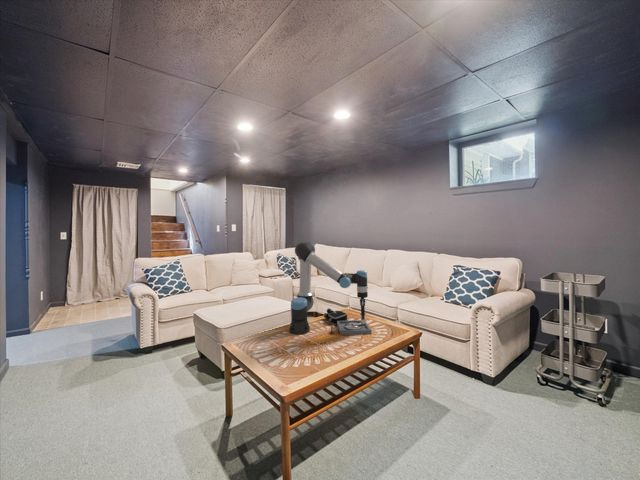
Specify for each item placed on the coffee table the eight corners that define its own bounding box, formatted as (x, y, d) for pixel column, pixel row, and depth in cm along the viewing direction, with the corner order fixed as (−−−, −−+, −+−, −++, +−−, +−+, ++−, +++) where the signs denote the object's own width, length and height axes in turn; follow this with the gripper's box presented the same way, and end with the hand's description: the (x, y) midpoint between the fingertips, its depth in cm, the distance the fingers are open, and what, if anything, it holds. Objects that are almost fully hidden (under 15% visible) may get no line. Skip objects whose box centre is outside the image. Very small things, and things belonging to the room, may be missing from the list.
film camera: (320, 320, 238) (333, 316, 248) (334, 327, 226) (347, 322, 235) (320, 310, 237) (334, 306, 246) (334, 317, 224) (348, 312, 234)
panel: (340, 334, 205) (340, 331, 205) (336, 324, 227) (336, 320, 227) (371, 333, 207) (371, 330, 206) (364, 323, 228) (364, 320, 228)
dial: (352, 331, 208) (352, 322, 207) (341, 326, 219) (340, 317, 218) (366, 327, 215) (366, 318, 215) (355, 322, 226) (355, 314, 226)
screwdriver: (332, 334, 206) (332, 331, 206) (330, 326, 222) (330, 323, 222) (336, 334, 206) (336, 330, 206) (334, 326, 222) (334, 323, 222)
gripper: (367, 293, 208) (368, 326, 208) (367, 289, 220) (367, 320, 221) (357, 293, 209) (358, 326, 209) (357, 289, 221) (357, 320, 222)
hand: (363, 323), depth 215 cm, fingers closed
